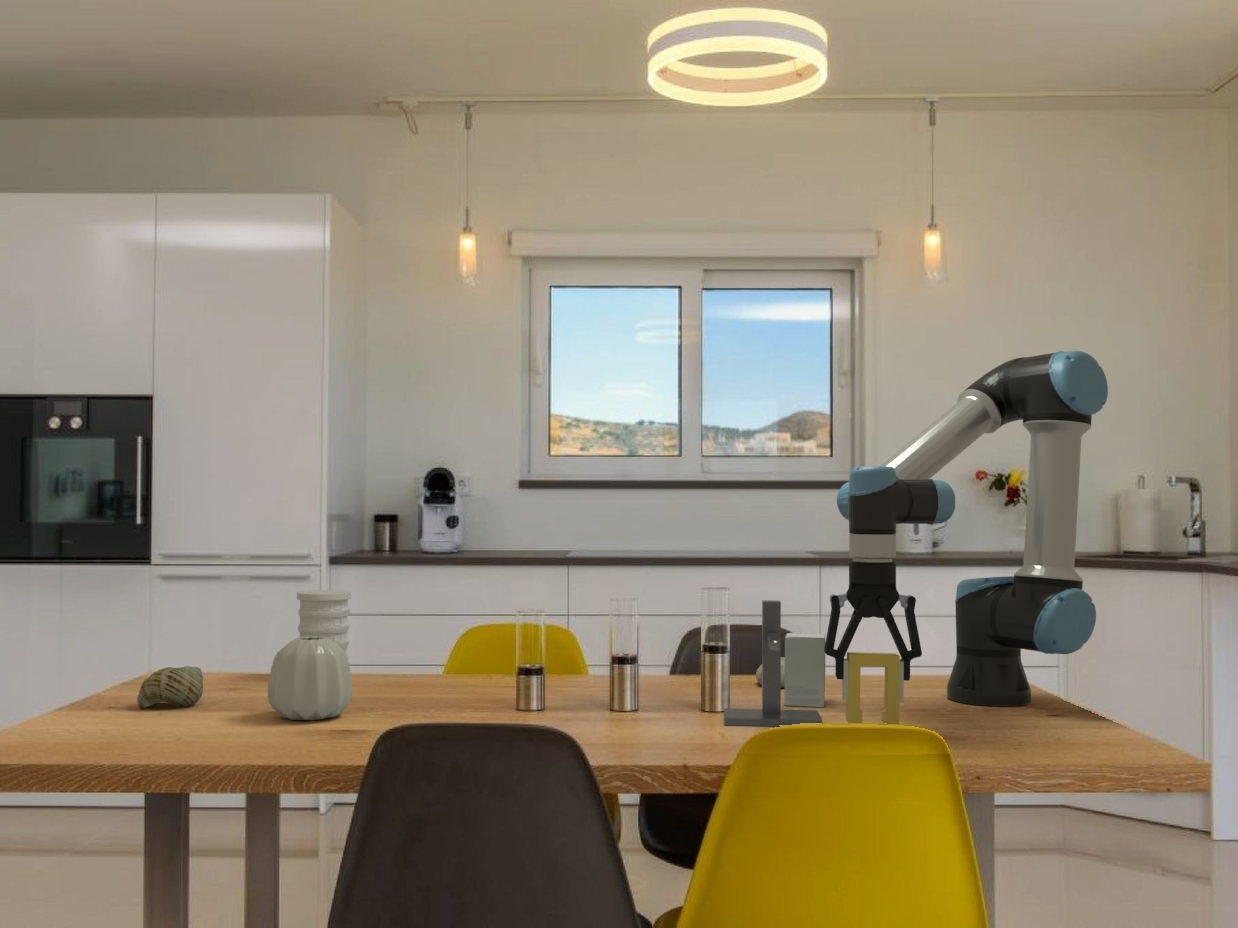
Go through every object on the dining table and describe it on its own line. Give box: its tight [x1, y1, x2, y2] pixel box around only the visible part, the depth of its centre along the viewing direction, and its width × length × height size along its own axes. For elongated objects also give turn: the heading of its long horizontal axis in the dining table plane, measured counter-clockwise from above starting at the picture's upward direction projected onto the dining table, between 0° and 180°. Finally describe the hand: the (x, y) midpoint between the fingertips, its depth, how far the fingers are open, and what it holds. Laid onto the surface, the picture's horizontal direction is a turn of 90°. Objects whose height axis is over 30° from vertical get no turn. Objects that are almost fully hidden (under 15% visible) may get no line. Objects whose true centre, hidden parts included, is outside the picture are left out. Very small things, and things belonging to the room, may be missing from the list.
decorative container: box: [296, 589, 352, 678], centre depth 234 cm, size 12×12×18 cm
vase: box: [267, 637, 353, 721], centre depth 193 cm, size 14×14×13 cm
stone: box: [755, 656, 785, 689], centre depth 232 cm, size 13×10×8 cm
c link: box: [845, 651, 901, 726], centre depth 185 cm, size 8×4×11 cm, turn 86°
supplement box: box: [783, 632, 826, 708], centre depth 210 cm, size 7×7×13 cm
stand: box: [723, 599, 823, 727], centre depth 189 cm, size 16×16×20 cm
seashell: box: [136, 665, 204, 709], centre depth 203 cm, size 10×10×10 cm
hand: (872, 699), depth 185 cm, fingers closed on c link, 8 cm apart
